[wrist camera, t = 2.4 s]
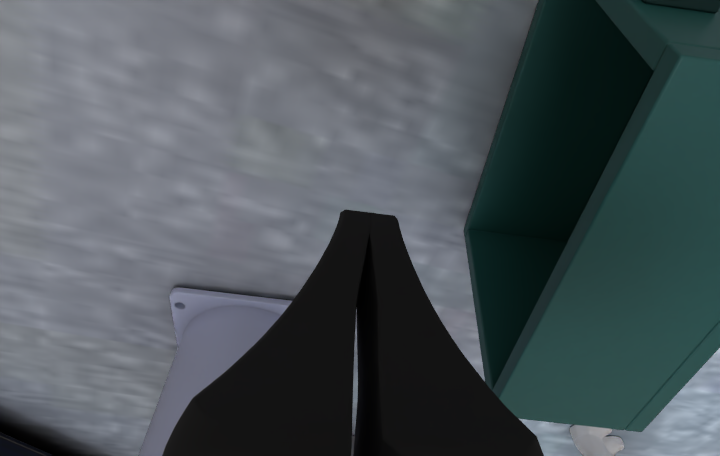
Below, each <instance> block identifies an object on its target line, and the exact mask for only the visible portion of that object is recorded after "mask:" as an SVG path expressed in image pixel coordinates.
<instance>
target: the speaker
mask: <svg viewBox="0 0 720 456" xmlns="http://www.w3.org/2000/svg"><path fill="white" fill-rule="evenodd" d="M0 456H54V455H51V454H49V453H47V452H44V451H42V450H40V449H37V448H35V447H33V446H31V445H28V444H26V443H24V442H21V441H19V440H17V439H14V438H12V437H10V436H7V435H5V434H3V433H0Z"/></svg>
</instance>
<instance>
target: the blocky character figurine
mask: <svg viewBox="0 0 720 456" xmlns="http://www.w3.org/2000/svg"><path fill="white" fill-rule="evenodd" d="M611 432H612V429H608V428H599V427H590V426H581V425H574V426H572V427H571V428H570V434H571V436H572V439H573V441H574V444H575V446H576V447H577V448H578V450H579V451H580V452H581V453H582V455H583V456H615V454H616V453H617V452H618V451H621V450H623V449H624V443H623V441H622V439H621V438H620V437H616V436H607V437H605V436H606V435H608V434H610V433H611Z"/></svg>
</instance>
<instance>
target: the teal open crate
mask: <svg viewBox="0 0 720 456" xmlns="http://www.w3.org/2000/svg"><path fill="white" fill-rule="evenodd" d="M464 235H465V242H466V249H467V256H468V263H469V270H470V277H471V284H472V291H473V298H474V305H475V312H476V319H477V326H478V333H479V341H480V348H481V355H482V362H483V369H484V376H485V383H486V384H487V386H488V387H489V388H490V389H491V390H492V391H493V392H494V393H495V395H496V396H497V397H498V398H499V399H500V400H501V401H502V403H503V404H504V405H505V406H506V407H507V408H508V409H509V410H510V411H511V412H512V413H513V414H514V415H515V416H516V417H517V418H519V419H528V420H537V421H545V422H554V423H563V424H572V425H581V426H590V427H599V428H608V429H617V430H624V429H625V430H628V431H636V432H642V431H643V430H644V429H645V428H646V427H647V426H648V425H649V424H650V422H651V421H652V420H653V419H654V418H655V417H656V416H657V415H658V414H659V413H660V412H661V411H662V409H663V408H664V407H665V406H666V405H667V404H668V403H669V402H670V401H671V400H672V399H673V397H674V396H675V395H676V394H677V393H678V392H679V391H680V390H681V389H682V388H683V387H684V386H685V384H686V383H687V382H688V381H689V380H690V379H691V378H692V377H693V376H694V375H695V374H696V373H697V371H698V370H699V369H700V368H701V367H702V366H703V365H704V364H705V363H706V362H707V361H708V360H709V358H710V357H711V356H712V355H713V354H714V353H715V352H716V351H717V350H718V349H719V348H720V0H539V2H538V5H537V8H536V11H535V14H534V17H533V21H532V24H531V27H530V30H529V33H528V36H527V39H526V42H525V45H524V48H523V51H522V54H521V57H520V60H519V63H518V66H517V69H516V72H515V75H514V78H513V81H512V84H511V88H510V91H509V94H508V97H507V100H506V103H505V106H504V109H503V112H502V115H501V118H500V121H499V124H498V127H497V130H496V133H495V136H494V139H493V142H492V145H491V148H490V152H489V155H488V158H487V161H486V164H485V167H484V170H483V173H482V176H481V179H480V182H479V185H478V188H477V191H476V194H475V197H474V200H473V203H472V206H471V209H470V212H469V215H468V219H467V222H466V225H465V228H464Z"/></svg>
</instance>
